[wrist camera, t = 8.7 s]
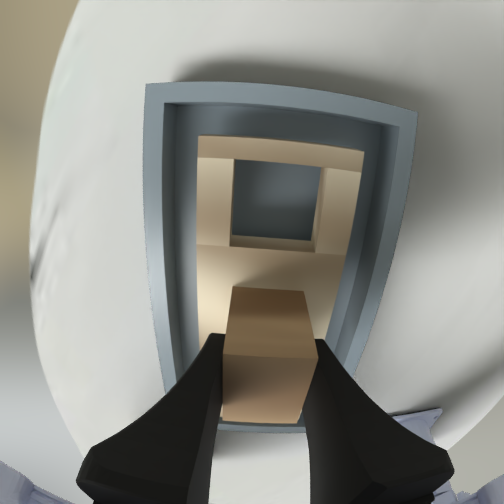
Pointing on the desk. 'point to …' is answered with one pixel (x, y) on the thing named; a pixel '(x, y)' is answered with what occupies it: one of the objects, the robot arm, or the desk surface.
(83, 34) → the desk surface
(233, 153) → the wooden holder
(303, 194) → the tray
